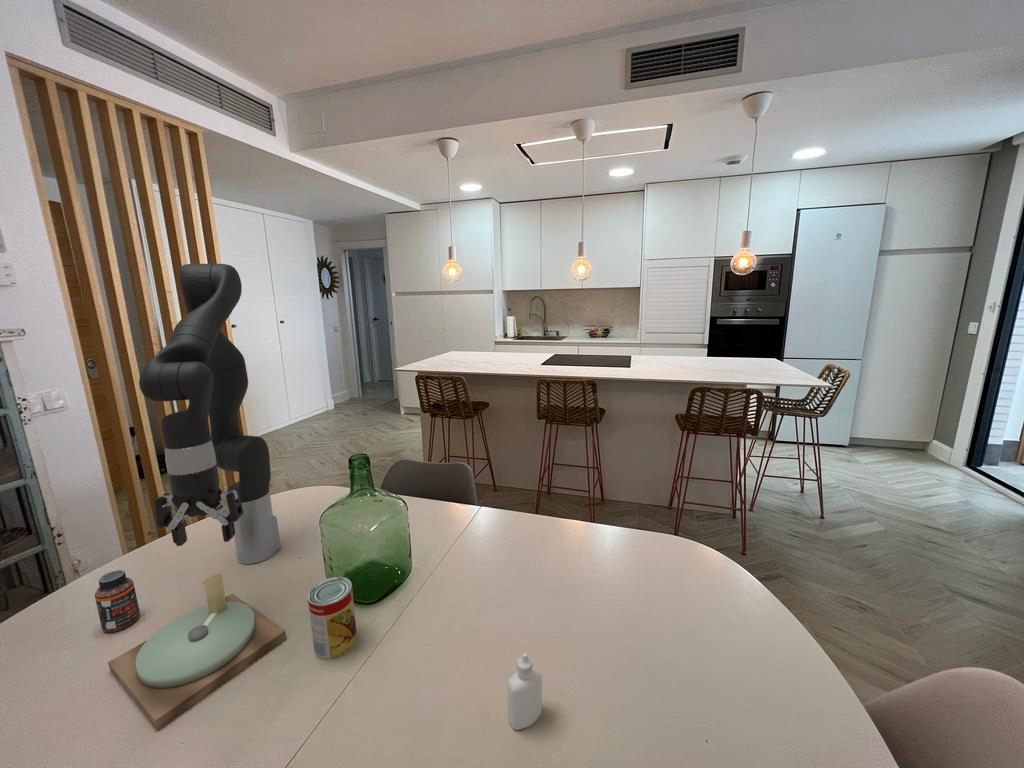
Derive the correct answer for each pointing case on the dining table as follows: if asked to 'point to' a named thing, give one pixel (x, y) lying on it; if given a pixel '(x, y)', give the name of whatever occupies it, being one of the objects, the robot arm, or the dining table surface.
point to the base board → (177, 699)
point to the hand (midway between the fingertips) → (205, 541)
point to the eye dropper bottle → (524, 694)
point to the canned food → (332, 617)
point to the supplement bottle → (116, 601)
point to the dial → (196, 640)
